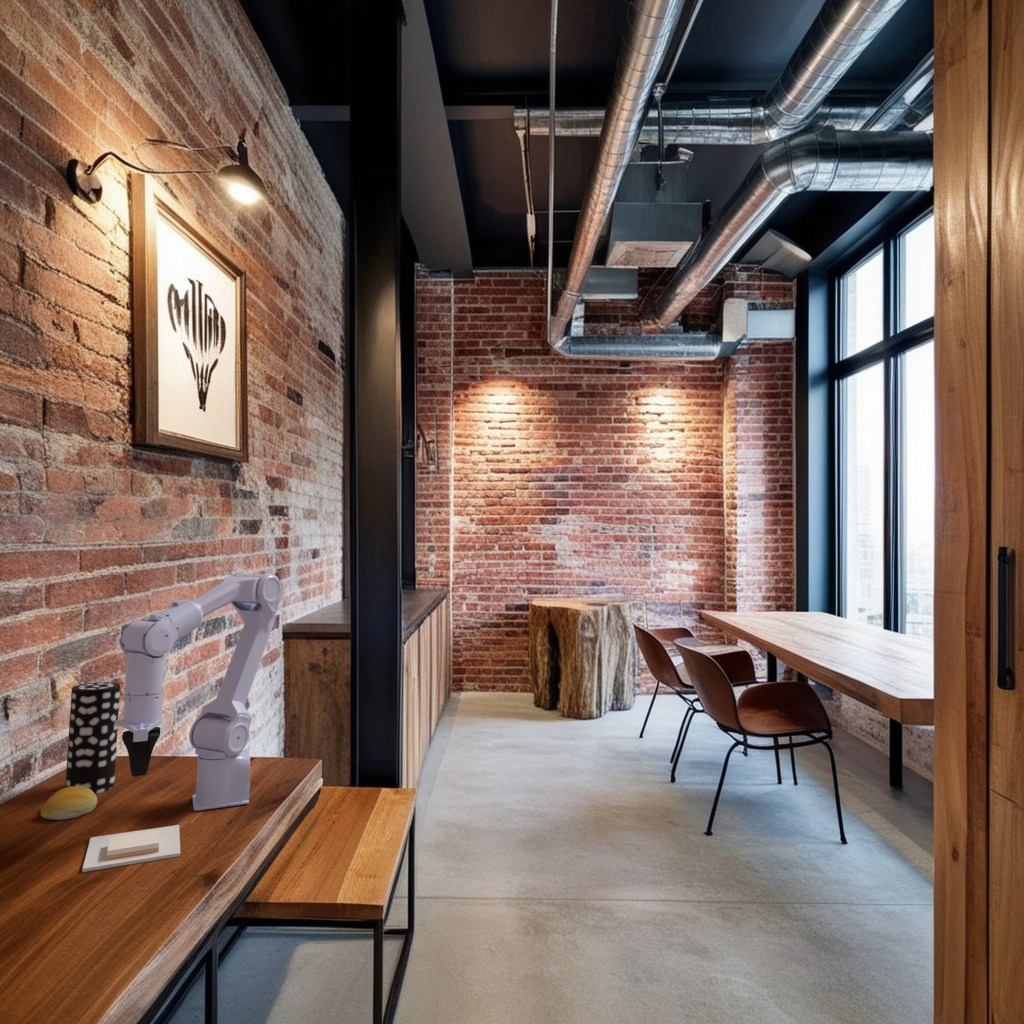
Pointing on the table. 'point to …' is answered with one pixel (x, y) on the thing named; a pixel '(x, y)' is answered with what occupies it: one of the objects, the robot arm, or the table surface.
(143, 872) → the table surface
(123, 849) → the tile
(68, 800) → the bread roll
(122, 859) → the mat
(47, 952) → the table surface
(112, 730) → the spotted tube
